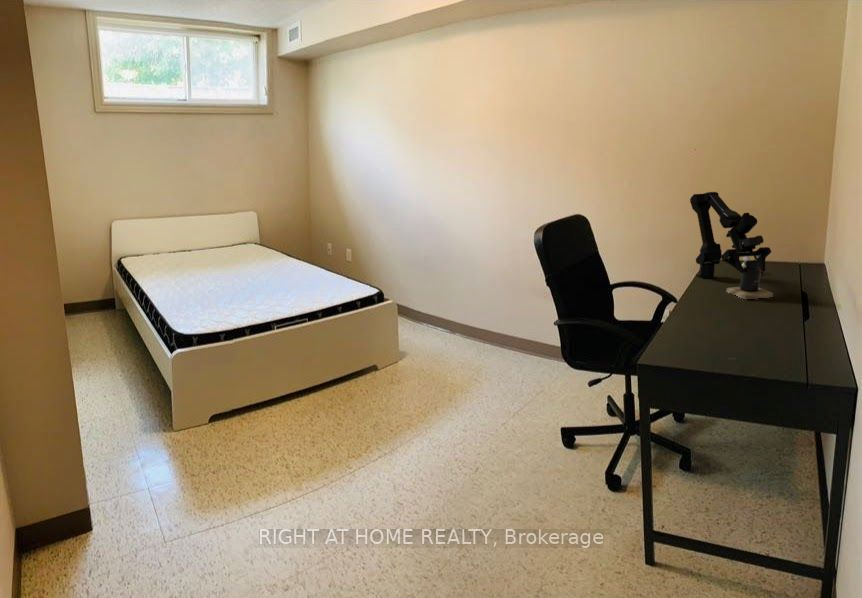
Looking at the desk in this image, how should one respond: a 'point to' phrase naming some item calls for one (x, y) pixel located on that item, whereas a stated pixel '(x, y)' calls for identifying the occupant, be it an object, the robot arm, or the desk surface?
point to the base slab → (749, 293)
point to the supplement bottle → (750, 276)
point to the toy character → (746, 260)
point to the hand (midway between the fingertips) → (753, 272)
